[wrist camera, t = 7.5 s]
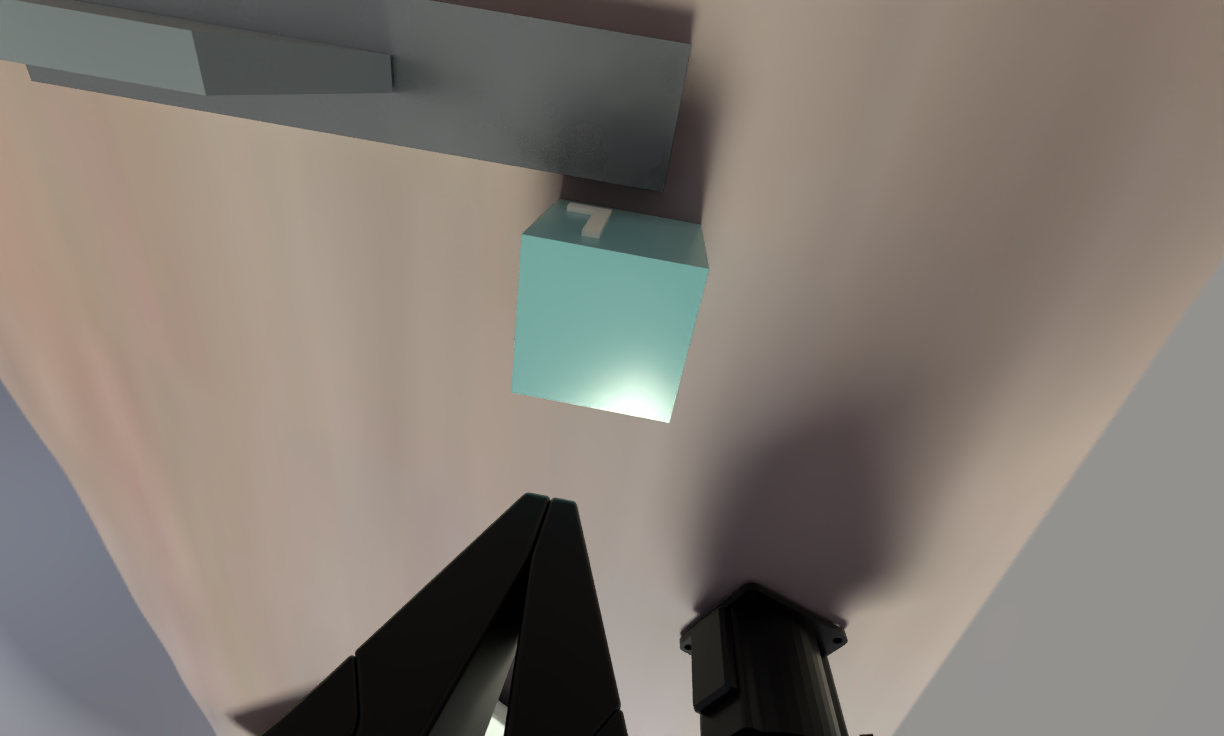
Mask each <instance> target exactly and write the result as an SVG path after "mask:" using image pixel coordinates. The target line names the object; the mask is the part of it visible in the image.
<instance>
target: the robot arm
mask: <svg viewBox="0 0 1224 736" xmlns="http://www.w3.org/2000/svg"><path fill="white" fill-rule="evenodd" d="M847 641H848V640H847V636H846V633H845V631H844V630H843V629H841V628H840V627H838V626H836V625H834V624H832V623H830V622H828V621H826V620H824V619H822V618H821V617H819V616H817V615H815V614H813V613H811V612H809V611H807V610H805V609H803V608H802V607H800V606H798V605H796V604H794V603H792V602H790V601H788V600H786V599H784V598H783V597H781V596H779V595H777V594H775V593H773V592H771V591H769V590H767V589H765V588H764V587H762V586H760V585H758V584H755V583H748V584H745V585H744V586H742V587H741V588H740V589H739V590H737V591H736V592H735V593H734V594H733V595H731V596H730V597H729V598H728V599H727V600H725V601H724V602H723V603H722V604H720V605H719V606H718V607H717V608H716V609H714V610H713V611H712V612H711V613H710V614H708V615H707V616H706V617H705V618H703V619H702V620H701V621H700V622H699V623H697V624H696V625H695V626H694V627H692V628H691V629H690V630H689V631H688V632H686V633H685V634H684V635H683V636H682V637H681V638H680V649H681V650H682V651H684V652H686V653H688V654H690V655H692V688H693V706H694V710H695V712H697V713H699V714H700V730H701V736H848V732H847V728H846V725H845V721H844V717H843V714H842V710H841V706H840V702H839V699H838V695H837V691H836V687H835V684H834V680H833V676H832V673H831V669H830V665H829V661H828V658H827V656H828V655H829V654H831V653H833V652H834V651H836V650H837V649H839V648H840V647H842V646H843V645H845V644H846V643H847ZM515 653H516V655H515ZM514 656H515V662H514V669H513V675H512V682H511V689H510V695H509V702H508V709H507V715H506V722H505V729H504V735H503V736H628V733H627V729H626V724H625V720H624V715H623V712H622V711H621V710H620V707H621V703H620V698H619V694H618V689H617V685H616V680H615V676H614V671H613V667H612V662H611V657H610V653H609V648H608V644H607V639H606V635H605V630H604V626H603V621H602V616H601V612H600V607H599V603H598V598H597V594H596V589H595V585H594V580H593V576H592V571H591V566H590V562H589V557H588V553H587V548H586V544H585V539H584V535H583V530H582V526H581V521H580V516H579V512H578V507H577V504H576V503H575V502H574V501H570V500H565V499H560V498H553V499H552V500H551V501H550V498H549V497H548V496H544V495H539V494H534V493H525V494H524V495H523V496H521V497H520V498H519V499H518V500H517V501H516V502H515V503H514V504H513V505H512V506H511V507H510V508H509V509H507V510H506V511H505V512H504V513H503V514H502V515H501V516H500V517H499V518H498V519H497V520H496V521H495V522H494V523H492V524H491V525H490V526H489V527H488V528H487V529H486V530H485V531H484V532H483V533H482V534H481V535H480V536H478V537H477V538H476V539H475V540H474V541H473V542H472V543H471V544H470V545H469V546H468V547H467V548H466V549H464V550H463V551H462V552H461V553H460V554H459V555H458V556H457V557H456V558H455V559H454V560H453V561H452V562H450V563H449V564H448V565H447V566H446V567H445V568H444V569H443V570H442V571H441V572H440V573H439V574H438V575H437V576H435V577H434V578H433V579H432V580H431V581H430V582H429V583H428V584H427V585H426V586H425V587H424V588H423V589H421V590H420V591H419V592H418V593H417V594H416V595H415V596H414V597H413V598H412V599H411V600H410V601H409V602H407V603H406V604H405V605H404V606H403V607H402V608H401V609H400V610H399V611H398V612H397V613H396V614H395V615H394V616H392V617H391V618H390V619H389V620H388V621H387V622H386V623H385V624H384V625H383V626H382V627H381V628H380V629H378V630H377V631H376V632H375V633H374V634H373V635H372V636H371V637H370V638H369V639H368V640H367V641H366V642H364V643H363V644H362V645H361V646H360V647H359V648H358V649H357V650H356V652H355V656H353V655H351V656H349V657H348V658H347V659H346V660H345V661H344V662H343V663H341V664H340V665H339V666H338V667H337V668H336V669H335V670H334V671H333V672H332V673H331V674H330V675H329V676H328V677H327V678H325V679H324V680H323V681H322V682H321V683H320V684H319V685H318V686H317V687H315V688H314V689H313V690H312V691H311V692H310V693H309V694H308V695H306V696H305V697H304V698H303V699H302V700H301V701H300V702H299V703H297V704H296V705H295V706H294V707H293V708H292V709H291V710H290V711H288V712H287V713H286V714H285V715H284V716H283V717H282V718H280V719H279V720H278V721H277V722H275V723H274V724H273V725H272V726H271V727H269V728H268V729H267V730H266V731H264V732H263V733H262V734H261V735H259V736H485V734H486V731H487V728H488V726H489V723H490V720H491V718H492V715H493V712H494V709H495V707H496V704H497V701H498V699H499V696H500V693H501V691H502V688H503V685H504V683H505V680H506V677H507V675H508V672H509V669H510V667H511V664H512V661H513V659H514ZM860 736H873V734H862V735H860Z"/></svg>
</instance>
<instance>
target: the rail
mask: <svg viewBox="0 0 1224 736" xmlns="http://www.w3.org/2000/svg"><path fill="white" fill-rule="evenodd" d="M75 1H81V2H87V3H93V4H99V5H104V6H110V7H116V8H122V9H128V10H134V11H139V12H145V13H151V14H157V15H163V16H168V17H174V18H180V19H186V20H192V21H197V22H203V23H209V24H215V25H221V26H227V27H232V28H238V29H244V30H250V31H256V32H261V33H267V34H273V35H279V36H285V37H290V38H296V39H302V40H308V41H314V42H319V43H325V44H331V45H337V46H343V47H349V48H354V49H360V50H366V51H372V52H378V53H383V54H389V55H390V59H391V75H392V92H393V93H356V94H285V95H214V96H205V95H200V94H194V93H188V92H182V91H177V90H171V89H165V88H160V87H154V86H148V85H143V84H137V83H131V82H125V81H120V80H114V79H108V78H103V77H97V76H91V75H86V74H80V73H74V72H68V71H63V70H57V69H51V68H46V67H40V66H34V65H28V64H26V67H27V69H28V72H29V75H30V77H31V80H32V81H36V82H41V83H47V84H53V85H58V86H64V87H70V88H75V89H81V90H87V91H92V92H98V93H104V94H109V95H115V96H121V97H126V98H132V99H138V100H143V101H149V102H155V103H160V104H166V105H172V106H177V107H183V108H189V109H195V110H200V111H206V112H212V113H217V114H223V115H229V116H234V117H240V118H246V119H251V120H257V121H263V122H268V123H274V124H280V125H285V126H291V127H297V128H302V129H308V130H314V131H319V132H325V133H331V134H336V135H342V136H348V137H353V138H359V139H365V140H371V141H376V142H382V143H388V144H393V145H399V146H405V147H410V148H416V149H422V150H427V151H433V152H439V153H444V154H450V155H456V156H461V157H467V158H473V159H478V160H484V161H490V162H495V163H501V164H507V165H512V166H518V167H524V168H529V169H535V170H541V171H546V172H552V173H558V174H564V175H569V176H575V177H581V178H586V179H592V180H598V181H603V182H609V183H615V184H620V185H626V186H632V187H637V188H643V189H649V190H654V191H660V192H663V191H664V185H665V180H666V175H667V170H668V165H669V159H670V154H671V149H672V144H673V138H674V133H675V128H676V123H677V118H678V112H679V107H680V102H681V97H682V91H683V86H684V81H685V76H686V71H687V65H688V60H689V55H690V50H691V44H686V43H680V42H674V41H668V40H662V39H656V38H650V37H644V36H639V35H633V34H627V33H621V32H615V31H609V30H603V29H597V28H591V27H585V26H579V25H574V24H568V23H562V22H556V21H550V20H544V19H538V18H532V17H526V16H520V15H514V14H509V13H503V12H497V11H491V10H485V9H479V8H473V7H467V6H461V5H455V4H450V3H444V2H438V1H432V0H75Z"/></svg>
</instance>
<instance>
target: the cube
mask: <svg viewBox="0 0 1224 736" xmlns="http://www.w3.org/2000/svg"><path fill="white" fill-rule="evenodd" d="M708 272H709V265H708V259H707V254H706V249H705V243H704V238H703V232H702V227H701V225H700V224H695V223H689V222H684V221H679V220H673V219H668V218H662V217H657V216H651V215H646V214H641V213H635V212H630V211H624V210H619V209H613V208H608V207H602V206H597V205H592V204H586V203H581V202H575V201H570V200H564V199H558V200H557V201H556V202H555V203H554V204H553V205H552V206H551V207H550V208H549V209H548V210H547V211H546V212H545V213H544V214H543V215H541V216H540V217H539V218H538V219H537V220H536V221H535V222H534V223H533V224H532V225H531V226H530V227H529V228H528V229H527V230H526V231H525V232H523V233H522V237H521V252H520V268H519V283H518V299H517V314H516V330H515V345H514V361H513V376H512V393H517V394H523V395H528V396H533V397H538V398H543V399H549V400H554V401H559V402H564V403H569V404H575V405H580V406H585V407H590V408H595V409H600V410H606V411H611V412H616V413H621V414H626V415H632V416H637V417H642V418H647V419H652V420H658V421H663V422H668V423H669V421H670V418H671V414H672V410H673V406H674V402H675V398H676V395H677V391H678V387H679V383H680V379H681V375H682V372H683V368H684V364H685V360H686V356H687V352H688V349H689V345H690V341H691V337H692V333H693V329H694V326H695V322H696V318H697V314H698V310H699V306H700V303H701V299H702V295H703V291H704V287H705V283H706V280H707V276H708Z"/></svg>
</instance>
